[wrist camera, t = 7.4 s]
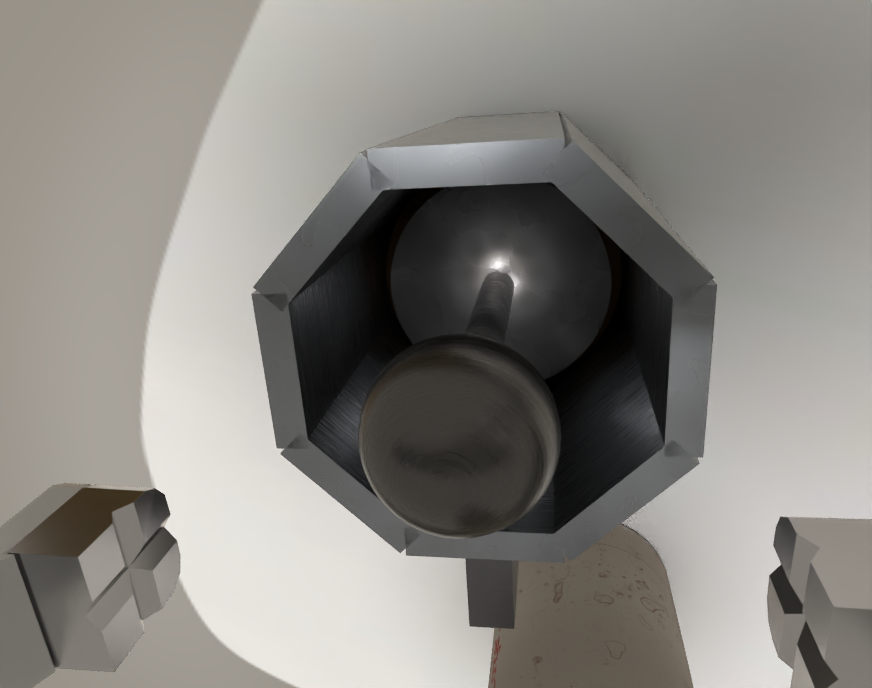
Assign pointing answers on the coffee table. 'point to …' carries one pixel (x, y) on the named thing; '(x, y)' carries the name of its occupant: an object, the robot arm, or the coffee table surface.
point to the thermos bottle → (593, 622)
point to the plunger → (481, 355)
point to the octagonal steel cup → (571, 388)
